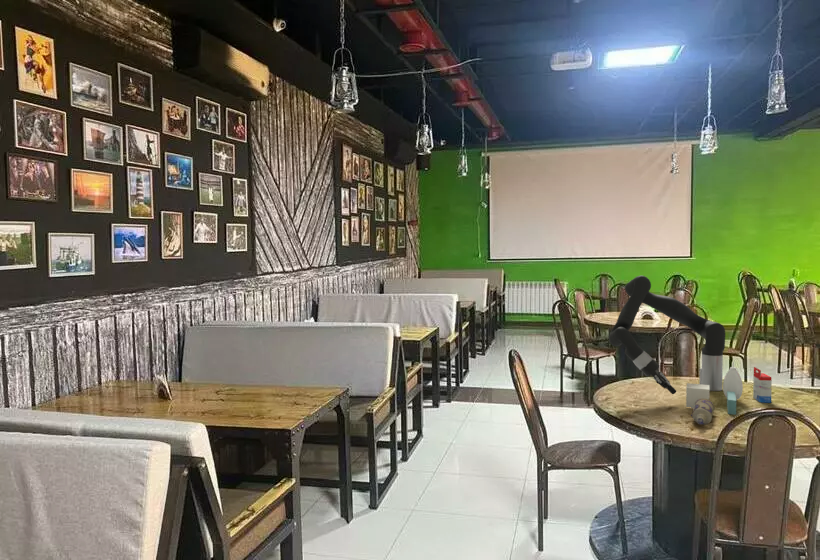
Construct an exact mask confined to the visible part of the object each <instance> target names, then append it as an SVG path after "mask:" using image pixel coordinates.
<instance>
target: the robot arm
mask: <svg viewBox="0 0 820 560" xmlns="http://www.w3.org/2000/svg"><path fill="white" fill-rule="evenodd" d="M651 288H652V282H651V280H650V279H649V278H648V277H647V276H645V275H638V276H635V277H634V278H633V279H631V280H630V281H628V282H627V284H625V286H624V290H625V292H626V294H627V295H628V296H629V298H628V300H627V301H626V302H625V304H624V306H622V308H621V310H620V313H619V314H618V317H617V319H616V322H615V324H614V326H613V328H612V329H611V330H610V333H609V335H608V341H609V343H610V345H612V346H614V347H620V346H622V345H623V346H624V348H625V350H624V354H625V356H627V357H628V358H629V359H630V360H631V361H632V362H633V364H634V365H635V366H636V368H637V369H638V370H640V371H641V372H642V373H643V374H644V375H645V377H650V376H652V377H653V380H654V381H655V382H656V383H657V384H658V385H659V386H661V387H662V388H663V389H666V390H667V391H668V392H670V394H671V395H675V394H676V393H677V389H675V387H674V386H672V385H671V383H670V380H669V379H668V378H667V377H666V375H665V374H664V373H663V371H661V370H660V371H659V370H658V369H659V368H660V364H658V362H656V361H655V359H653V357H651V356H650V354H649V353H647V352H646V351H645V350H644V349H643V348H642V347H641V346H640V345H639V344H638V343H637V341H636V339H635V337H634V336H633V335H632V332H631V331H630V329H631V328H632V326H633V324H634V321H635V319H636V316H637V313H638V311H639V309H640V307H641V305H642V303H643V304H644V305H646V306H648V307H651V308H653V309H654V310H656V311H658V312H659V313H661V314H663V315H664V316H666V317H667V318H670V319H672V320H673V321H675V322H677V323H679V324H681V325H684V326H686V327H688V328H689V329H691V330H692V331H694V332H695V333H696V334H698V335H699V336H701V337H702V338H703V339H705V343H704V346H703V347H702V348H701V367H700V368H699V383H698V384H703V385H709V392H719V391H723V380H724V379H723V378H724V377H723V375H724V374H723V369H724V368H723V366H724V364H723V363H724V361H723V360H724V359H723V358H724V351H725V346H726V329H725V326H724V325H723V324H721V323H719V322H717V321H712V320H710V319H707V318H704V317H702V316H700V315H698V314H697V313H696V312H694V311H693V310H692V309H691V308H690V307H689V306H687V305H686V304H685V303H683V302H682V301H680V300H678V299H677V298H674V297H671V296H667V295H660V294H655V293H652V292H650V290H651Z"/></svg>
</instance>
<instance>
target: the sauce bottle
mask: <svg viewBox="0 0 820 560" xmlns="http://www.w3.org/2000/svg"><path fill="white" fill-rule="evenodd" d="M723 378H724V379H723V381H722V391H723V394H724V396H725V398H726V399H727V391H730V392H735V396H736V402H737V401H738V400H739V399H740V398H741V396H742V395H743V392H744V391H743V389H744V387H743V385H744V384H743V380H742V377H741V375H740V373H739V371H738V370H737V367H735V364H734V361H732V366H730V367H729V369H728V371H727V372H726V374H725V376H724V377H723Z"/></svg>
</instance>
